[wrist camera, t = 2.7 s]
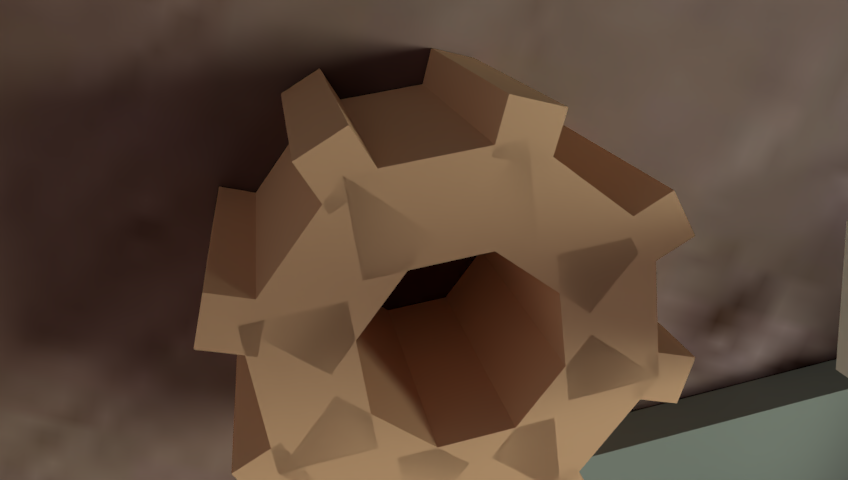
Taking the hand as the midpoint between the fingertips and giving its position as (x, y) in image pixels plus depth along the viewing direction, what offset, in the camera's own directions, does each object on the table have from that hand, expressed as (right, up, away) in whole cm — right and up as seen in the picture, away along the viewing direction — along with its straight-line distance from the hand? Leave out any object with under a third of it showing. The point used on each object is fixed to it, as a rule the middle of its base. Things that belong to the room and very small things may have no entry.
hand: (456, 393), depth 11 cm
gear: (-1, +2, +5) cm, 6 cm away
